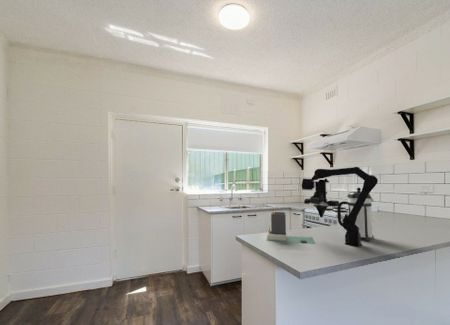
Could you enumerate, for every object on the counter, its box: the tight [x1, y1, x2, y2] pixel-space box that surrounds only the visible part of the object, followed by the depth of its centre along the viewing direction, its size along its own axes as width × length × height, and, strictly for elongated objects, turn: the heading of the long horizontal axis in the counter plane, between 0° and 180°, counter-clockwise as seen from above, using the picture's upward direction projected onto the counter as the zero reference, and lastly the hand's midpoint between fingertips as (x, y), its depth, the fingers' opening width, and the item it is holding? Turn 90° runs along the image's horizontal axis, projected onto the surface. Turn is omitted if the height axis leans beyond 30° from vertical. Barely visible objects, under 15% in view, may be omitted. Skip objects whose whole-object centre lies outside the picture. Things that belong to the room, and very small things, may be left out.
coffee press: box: [336, 187, 375, 242], centre depth 136 cm, size 17×16×30 cm
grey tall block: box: [270, 210, 287, 236], centre depth 132 cm, size 8×5×15 cm, turn 76°
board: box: [266, 226, 317, 245], centre depth 130 cm, size 26×14×6 cm, turn 76°
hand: (321, 217), depth 131 cm, fingers closed
